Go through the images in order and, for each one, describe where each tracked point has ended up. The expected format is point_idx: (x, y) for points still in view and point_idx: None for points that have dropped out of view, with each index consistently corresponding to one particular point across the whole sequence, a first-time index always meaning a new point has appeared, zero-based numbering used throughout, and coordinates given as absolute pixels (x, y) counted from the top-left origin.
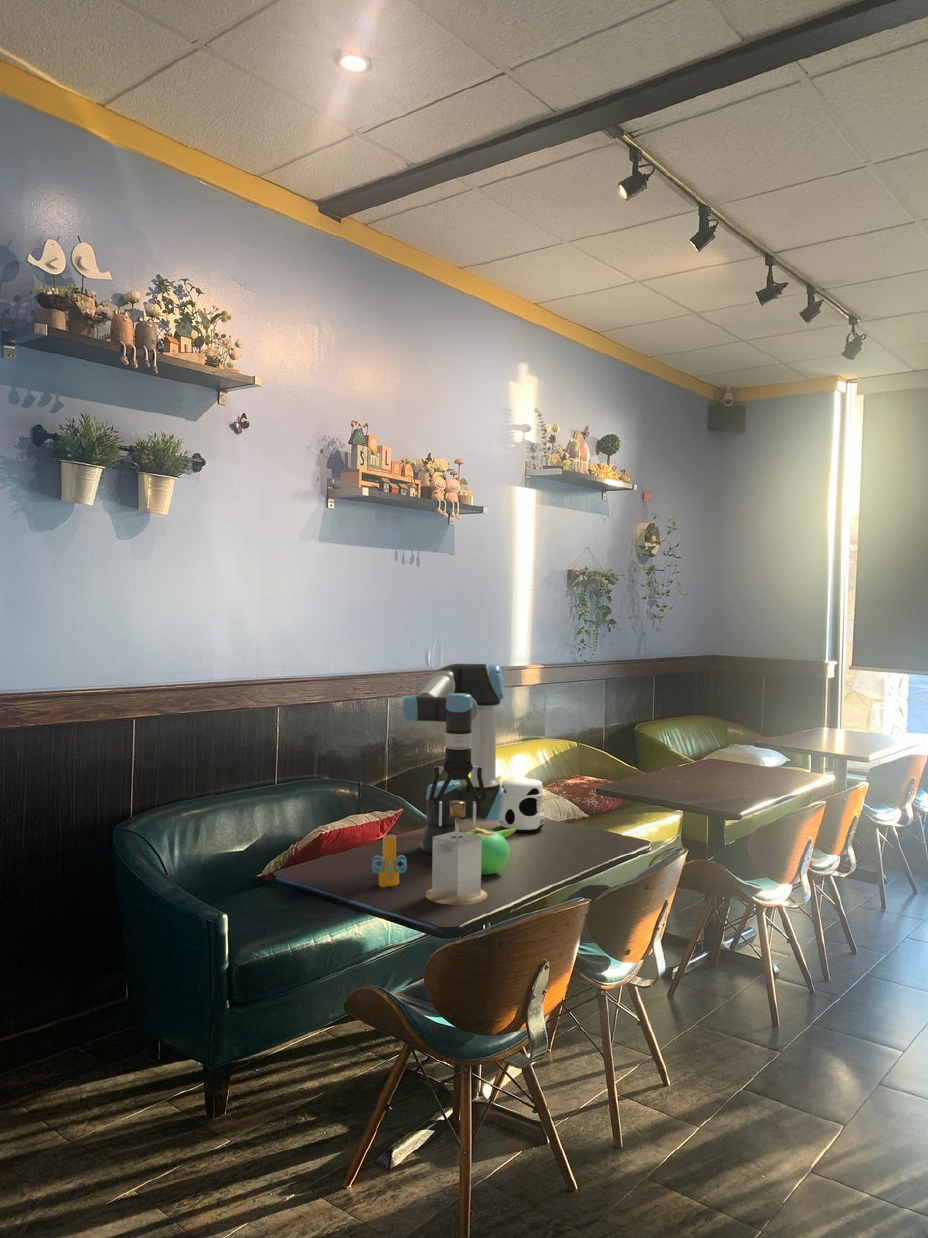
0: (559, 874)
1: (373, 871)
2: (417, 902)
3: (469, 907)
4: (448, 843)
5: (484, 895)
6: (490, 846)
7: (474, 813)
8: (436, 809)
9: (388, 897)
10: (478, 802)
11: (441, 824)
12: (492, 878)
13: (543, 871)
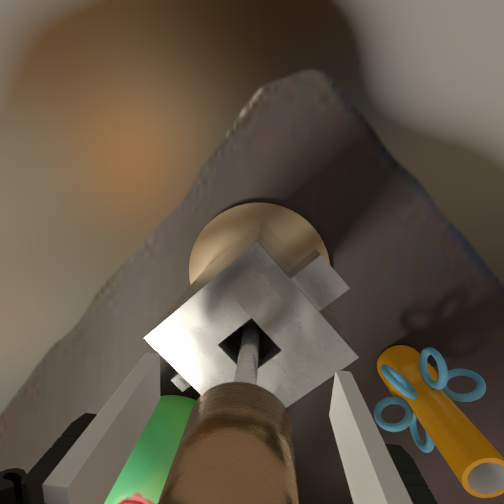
0: (33, 401)
1: (467, 369)
2: (350, 246)
3: (236, 203)
4: (295, 282)
5: (195, 264)
6: (142, 444)
7: (114, 407)
8: (414, 477)
9: (411, 286)
10: (2, 482)
11: (339, 375)
12: (169, 390)
13: (63, 422)
